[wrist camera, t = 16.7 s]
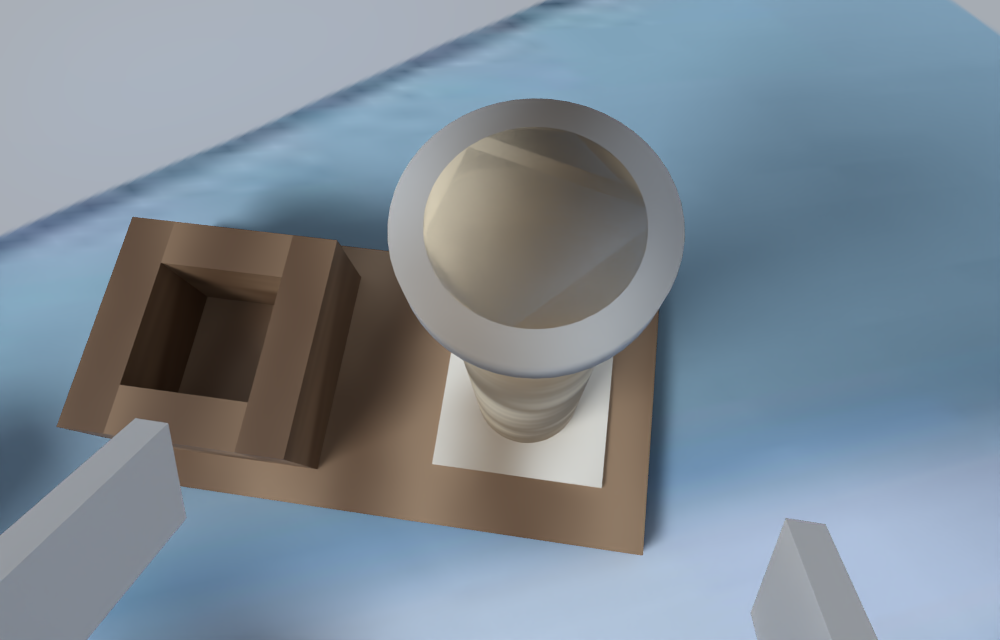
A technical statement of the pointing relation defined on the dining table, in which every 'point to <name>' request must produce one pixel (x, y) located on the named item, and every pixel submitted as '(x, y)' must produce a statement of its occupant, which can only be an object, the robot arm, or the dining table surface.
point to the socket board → (345, 392)
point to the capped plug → (535, 251)
